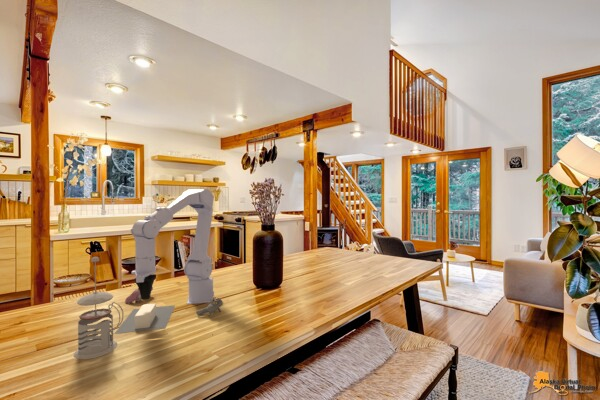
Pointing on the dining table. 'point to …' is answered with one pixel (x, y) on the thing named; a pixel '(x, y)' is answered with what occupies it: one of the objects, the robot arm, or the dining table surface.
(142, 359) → the dining table surface
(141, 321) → the cream block
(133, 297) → the video game controller
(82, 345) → the french press
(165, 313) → the slate mat
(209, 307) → the grey toy figure
